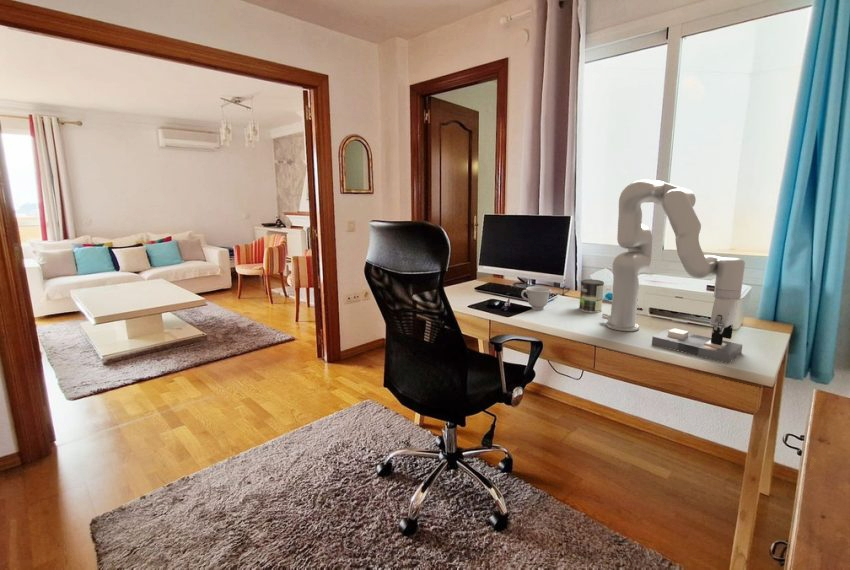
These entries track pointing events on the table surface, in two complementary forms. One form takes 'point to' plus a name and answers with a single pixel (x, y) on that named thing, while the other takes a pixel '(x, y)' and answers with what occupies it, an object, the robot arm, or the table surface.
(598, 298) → the coffee can
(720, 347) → the switch right
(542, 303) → the teacup
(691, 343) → the switch panel
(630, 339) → the table surface
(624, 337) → the table surface
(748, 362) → the table surface
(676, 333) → the switch left
